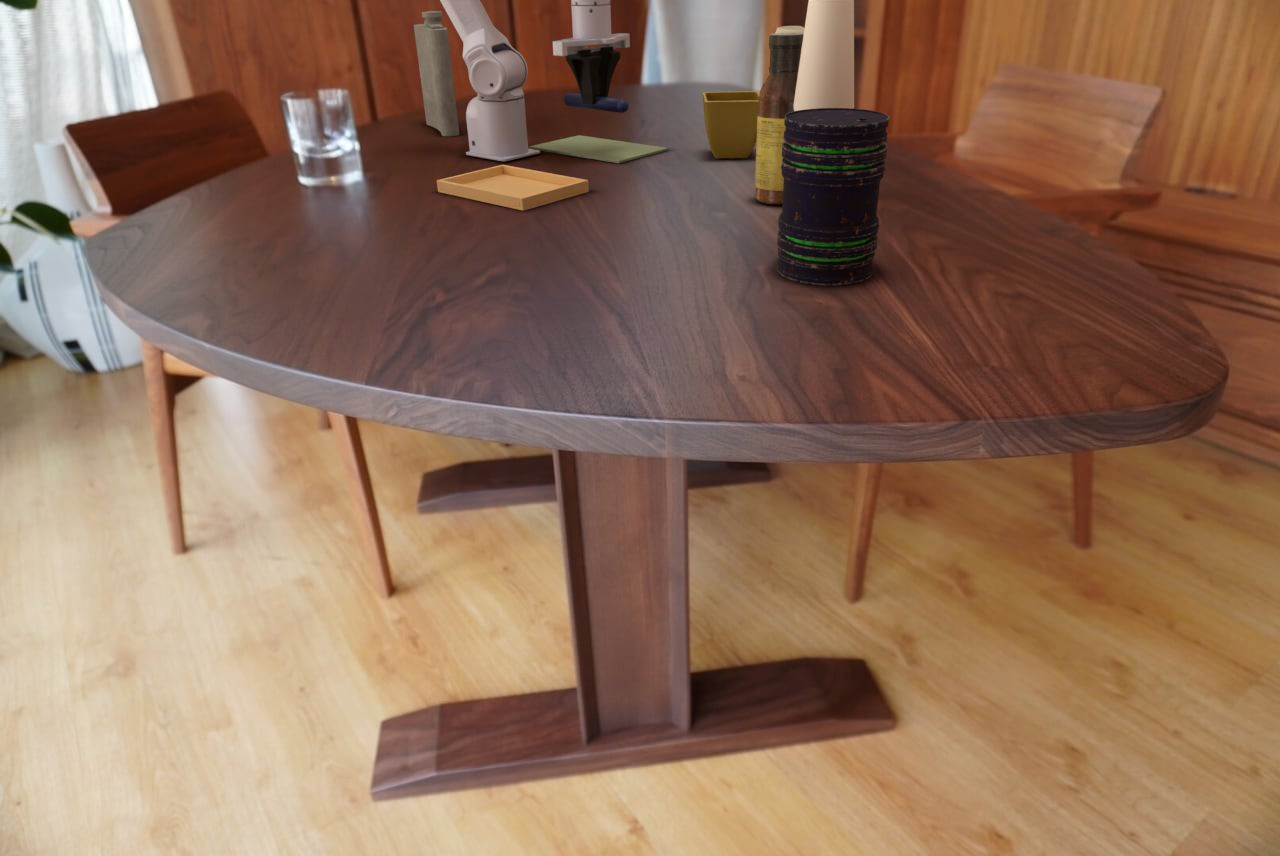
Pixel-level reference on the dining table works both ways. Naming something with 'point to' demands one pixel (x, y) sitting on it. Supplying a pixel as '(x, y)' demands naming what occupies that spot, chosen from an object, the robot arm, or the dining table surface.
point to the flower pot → (731, 122)
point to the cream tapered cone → (827, 57)
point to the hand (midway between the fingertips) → (594, 102)
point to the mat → (599, 148)
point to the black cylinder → (831, 194)
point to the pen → (597, 103)
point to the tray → (513, 187)
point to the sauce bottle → (775, 114)
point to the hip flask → (436, 74)
